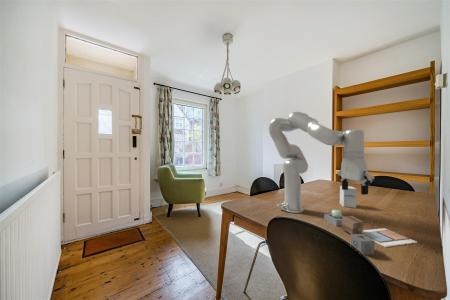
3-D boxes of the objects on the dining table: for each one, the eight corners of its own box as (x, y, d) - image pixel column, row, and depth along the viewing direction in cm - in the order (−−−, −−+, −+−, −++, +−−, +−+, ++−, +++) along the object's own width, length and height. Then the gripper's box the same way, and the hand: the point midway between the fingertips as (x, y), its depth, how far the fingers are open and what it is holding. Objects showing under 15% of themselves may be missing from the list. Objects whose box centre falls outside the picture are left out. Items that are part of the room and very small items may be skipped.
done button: (336, 220, 87) (336, 212, 87) (329, 216, 91) (329, 209, 91) (343, 219, 88) (343, 212, 87) (336, 216, 92) (336, 209, 92)
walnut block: (351, 234, 75) (353, 223, 74) (341, 227, 80) (342, 216, 80) (362, 233, 76) (363, 222, 76) (350, 226, 82) (352, 215, 81)
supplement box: (343, 206, 113) (343, 187, 113) (339, 203, 120) (339, 185, 120) (356, 208, 111) (356, 188, 111) (351, 204, 118) (351, 186, 118)
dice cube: (362, 246, 67) (363, 234, 67) (374, 254, 62) (374, 241, 62) (350, 247, 67) (350, 234, 67) (361, 254, 62) (361, 241, 62)
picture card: (385, 247, 67) (385, 245, 67) (356, 232, 78) (356, 230, 78) (417, 243, 70) (417, 241, 70) (384, 229, 81) (384, 227, 81)
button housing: (336, 226, 85) (336, 220, 85) (324, 219, 92) (324, 214, 92) (349, 224, 86) (350, 219, 86) (336, 218, 94) (336, 213, 94)
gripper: (332, 155, 89) (332, 188, 89) (366, 156, 72) (366, 197, 72) (344, 155, 91) (344, 187, 90) (380, 156, 74) (380, 196, 74)
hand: (354, 191), depth 81 cm, fingers open, 9 cm apart
